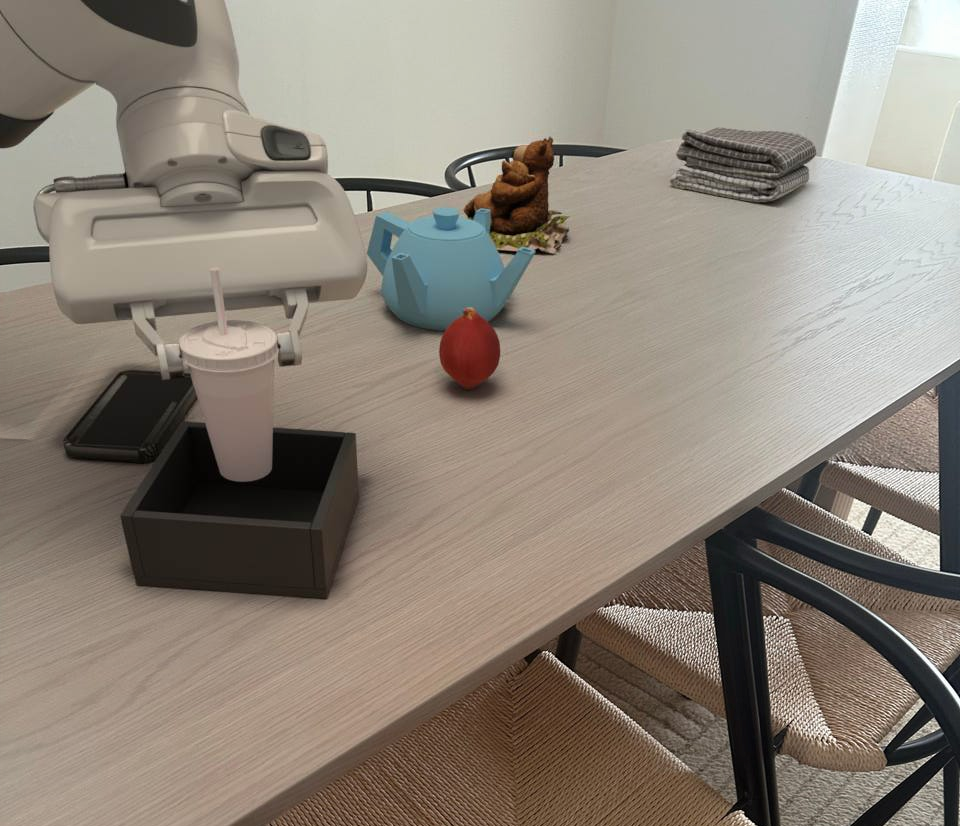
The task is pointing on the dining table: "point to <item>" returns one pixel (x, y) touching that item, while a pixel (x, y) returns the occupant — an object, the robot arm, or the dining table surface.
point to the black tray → (244, 516)
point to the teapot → (443, 267)
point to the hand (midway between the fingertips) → (233, 369)
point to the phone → (131, 417)
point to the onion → (469, 349)
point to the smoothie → (234, 388)
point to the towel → (743, 163)
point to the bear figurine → (522, 202)
